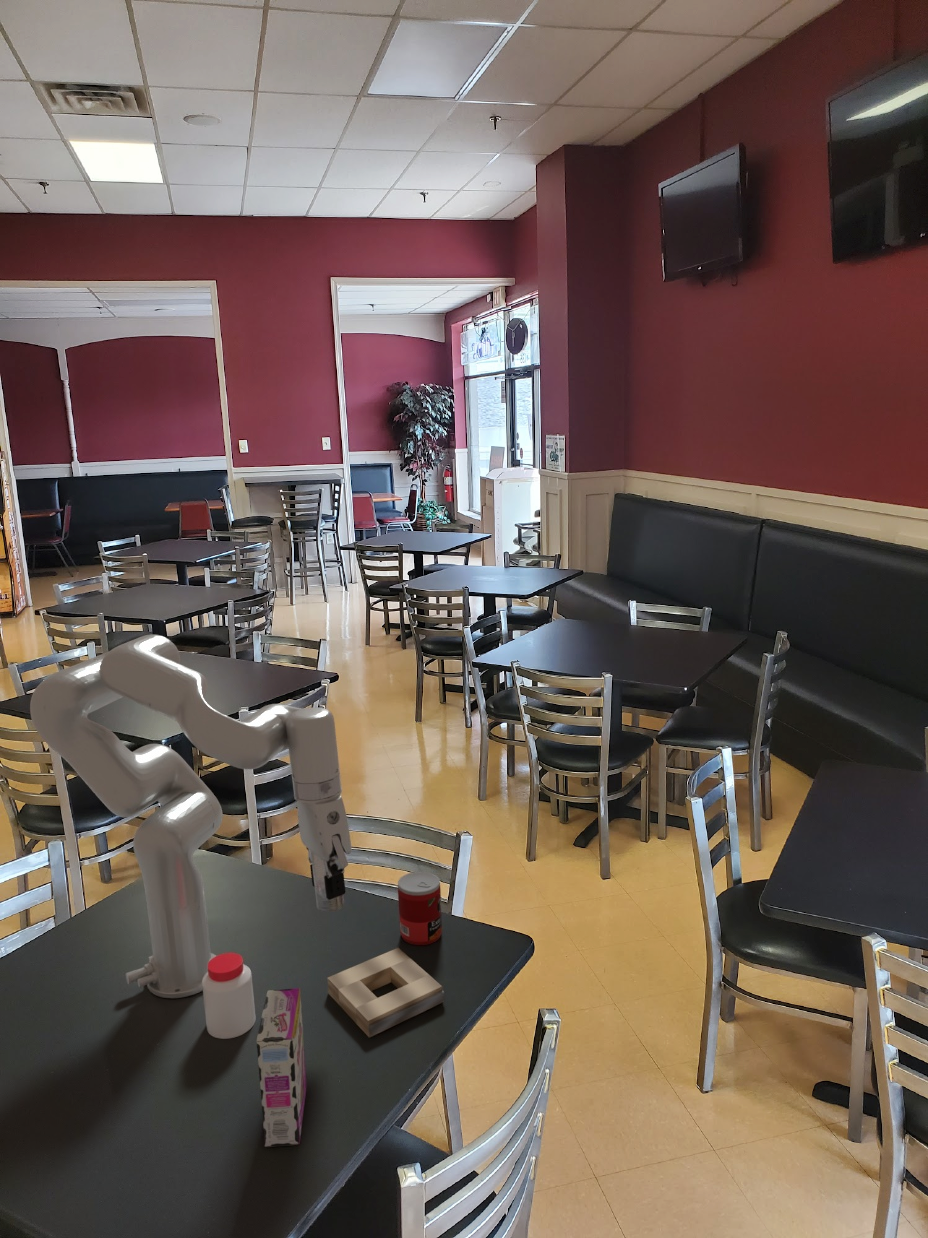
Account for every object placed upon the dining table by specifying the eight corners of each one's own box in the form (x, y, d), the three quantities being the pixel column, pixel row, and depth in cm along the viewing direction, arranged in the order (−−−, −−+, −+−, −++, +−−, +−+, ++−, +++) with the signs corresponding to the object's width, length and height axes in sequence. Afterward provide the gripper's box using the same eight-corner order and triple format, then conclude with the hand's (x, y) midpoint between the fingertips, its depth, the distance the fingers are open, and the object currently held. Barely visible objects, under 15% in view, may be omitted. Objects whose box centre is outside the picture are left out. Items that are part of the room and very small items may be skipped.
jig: (371, 1039, 138) (370, 1023, 137) (328, 993, 150) (327, 977, 149) (444, 1004, 146) (444, 988, 145) (398, 962, 157) (398, 947, 157)
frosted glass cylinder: (324, 915, 142) (317, 858, 139) (312, 904, 145) (306, 848, 143) (348, 905, 144) (342, 849, 142) (336, 895, 147) (330, 840, 145)
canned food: (437, 948, 161) (435, 893, 159) (395, 944, 163) (392, 890, 161) (446, 925, 169) (444, 872, 166) (406, 922, 170) (403, 870, 168)
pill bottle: (212, 1045, 138) (205, 983, 135) (202, 1017, 145) (195, 957, 142) (261, 1029, 141) (255, 968, 139) (249, 1002, 148) (243, 943, 146)
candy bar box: (302, 1146, 118) (293, 1039, 114) (264, 1149, 118) (254, 1042, 114) (309, 1085, 129) (301, 986, 125) (274, 1088, 128) (265, 988, 125)
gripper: (363, 794, 135) (374, 902, 139) (315, 765, 149) (326, 864, 153) (319, 808, 131) (331, 919, 135) (274, 777, 145) (286, 879, 149)
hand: (328, 889), depth 144 cm, fingers closed on frosted glass cylinder, 4 cm apart
